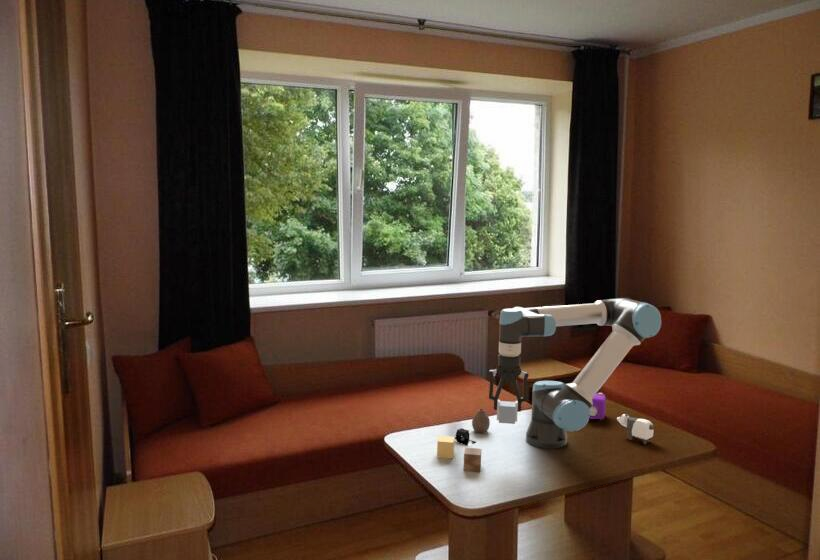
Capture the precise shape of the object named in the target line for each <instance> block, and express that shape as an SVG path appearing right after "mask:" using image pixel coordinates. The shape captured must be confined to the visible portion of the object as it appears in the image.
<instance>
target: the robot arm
mask: <svg viewBox="0 0 820 560" xmlns="http://www.w3.org/2000/svg"><path fill="white" fill-rule="evenodd" d="M590 324H591V325H592V324H597V326H601V327H602V326H603V327H604V326H610V327H612V332H610V334H609V335H608V337H607V338H606V339H605V341H604V342H603V343H602V344H601V345H600V347H599V348H598V349H597V351H595V353H594V355H593V356H592V357H591V358H590V360H589V361H588V362H587V363H586V365H584V367H583V368H582V369H581V371H580V372H579V373H578V375H577V376H576V377H575V379H574V380H573V381H572V382H569V383H564V382H562V381H556V380H539V381H536V382H534V384H533V387H532V396H531V397H532V398H531V419H530V422H529V425H528V428H527V431H526V433H525V440H526V442H527V443H528V444H530V445H531V446H534V447H537V448H541V449H550V450H551V449H552V448H553V449H560V447H561V448H563V446H564V447H565V446H566V445H567V443H568V441H567V440H568V437H567V432H577V431H579V430H582V429H583V428H584V427H586V425H587V424H588V423H589V421H590V419H589V418H590V416H589V414H590V410H589V409H590V408H591V407H592V405H593V402H592V398H593V397H594V395H595V394H596V393H597V394H598V393H599V390H600V389H601V388H602V387H603V385H604V384H605V383H606V381H607V380H608V379H609V377H610V376H611V375H612V374H613V373H614V371H615V370H616V368H617V367H618V366H619V364H620V363H621V362H622V361H623V360H624V358H625V357H626V356H627V354H628V353H629V352H630V350H631V349H632V348H633V347H634V346H640V345H641V343H642V342H643V341H644V340H645V339H647V338H648V339H649V338H652V337H654V336H656V335H657V334H658V333H659V332H660V329H661V327H662V315H661V313H660V311H659V309H658V308H657V307H656V306H655V305H652V304H650V303H648V302H645V301H639V300H634V299H632V298H628V297H619V298H609V299H608V298H607V299H600V300H599V299H598V300H596V301H594V302H593V303H591V302H590V303H582V304H581V303H580V304H579V303H577V304H568V305H567V304H566V305H551V306H542V307H541V306H538V307H523V306H514V307H512V308H503V309H502V310H501V311H500V315H499V322H498V325H499V332H498V333H499V334H498V336H499V337H498V353H499V354H498V355H497V356H498V357H497V359H498V360H497V361H498V362H497V367H496V368H494V369H489V372H488V374H489V391H488V392H489V393H488V399H490V400H491V401H493V410H495V411H496V421H499V404H500V401H501V400H500V399H499V397H500V394H501V391H502V388H503V386H504V383H505V382H507V381H508V382H512V383H513V388H514V391H515V396H516V400H515V402H516V410H515V423H516V422H518V412H521V411H522V403H523V402H527V401H528V399H527V398H528V397H527V396H528V393H527V392H528V388H527V387H528V379H529V372H528V371H523V370H522V368H521V353H522V338H525V337H527V338H529V337H531V338H533V337H549V336H550V337H551V336H552V335H554V334H555V332H556V329H557V327H566V326H579V325H590ZM497 375H498V376H499V377H500V379H499V383H498V385H497V388H496V390H495V391H496V392H495V394H494V383H495V377H496V376H497ZM520 376H521V378H522V396H521V392H520V388H519V385H518V380H517V379H518V378H519V377H520Z"/></svg>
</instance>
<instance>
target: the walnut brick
mask: <svg viewBox="0 0 820 560" xmlns="http://www.w3.org/2000/svg"><path fill="white" fill-rule="evenodd" d="M481 466H482V448H478V447H477V448H476V447H465V448H464V452H463V472H471V473H472V472H474V473H481Z"/></svg>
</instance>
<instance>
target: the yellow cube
mask: <svg viewBox="0 0 820 560" xmlns="http://www.w3.org/2000/svg"><path fill="white" fill-rule="evenodd" d="M436 449H437V451H436V458H437V457H443V458H442V459H448V458H454V454H455V436H449V435H439V436H438V439H437V448H436Z"/></svg>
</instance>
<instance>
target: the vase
mask: <svg viewBox="0 0 820 560" xmlns="http://www.w3.org/2000/svg"><path fill="white" fill-rule="evenodd" d="M471 419H472V420H471V426H472V429H473V431H475V432H476V433H477V434H478V433H479V434H485V433H486V432H487V431H488V430H489V428H490V425H491V423H490V418H489V416H488V414H487V413H486V410H485V409H483V408H479V409H477V411H476V413H475V414H474V415H473V417H472V418H471Z"/></svg>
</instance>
